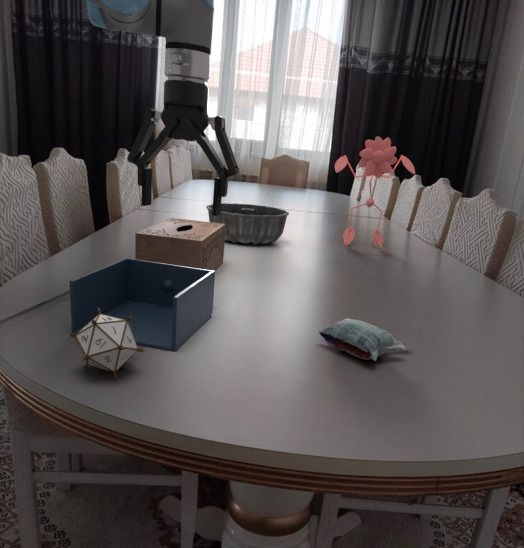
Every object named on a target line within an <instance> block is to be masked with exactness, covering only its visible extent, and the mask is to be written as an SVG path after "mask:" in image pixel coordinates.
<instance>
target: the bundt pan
mask: <svg viewBox="0 0 524 548" xmlns="http://www.w3.org/2000/svg"><path fill="white" fill-rule="evenodd" d="M205 207H206V210H207V212H208V222H212V223H221V224H226V227H225V241H226V242H232V243H233V244H236V243H241V244H245V245H246V244H247V245H248V244H250V243H251V244H252V245H253V246H254V245H255V246H256V245H258V244H259V245H260V244H261V245H265V244H273V243H275V242H277V241H278V240H279V239H280V238H281V236H282V235H283V234H284V230H285V227H286V222H287V218H288V216H289V214H290V212H289V211H287V210H286V209H281V208H279V207H278V208H277V207H273V206H266V205H259V204H258V205H257V204H251V203H237V202H236V203H235V202H234V203H224V202H221V213H220V215H218V216H212V208H213V203H211V204H209V205H206V206H205Z"/></svg>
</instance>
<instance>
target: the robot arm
mask: <svg viewBox="0 0 524 548" xmlns="http://www.w3.org/2000/svg"><path fill="white" fill-rule="evenodd" d="M214 5H215V0H86V7H87V16H88V20H89V22H90V23H91V24H92V25H93V26H94V27H97V28H101V29H106V30H109V31H110V32H115V31H117V32H118V31H119V32H126V33H132V34H141V35H148V36H154V37H156V38H157V37H158V38H164V39H165V44H164V45H165V47H164V49H165V50H164V53H165V54H164V76H165V77H166V78H167V79H166V80H165V81H164V82H163V109H162V111H158V110H156V109H154V108H148V107H147V108H146V109H145V113H144V120H143V124H142V125H141V128H140V130H139V131H138V133H137V136H136V138H135V140H134V143H133V144H132V147H131V149H130V151H129V153H128V155H127V162H128V163H131V164H132V165H135V166H136V168H137V179H136V180H137V181H136V182H137V185H138V186H139V187H141V206H142V207H148V206H151V205H152V198H153V197H152V195H153V193H152V192H153V168H152V167H150V164H152V162H153V161H154V160H155V159H156V158H157V156H158V155H159V154H160V153H161V151H163V149H164V148H165V147H166V145H168V143H169V142H171V141H172V140H177V141H186V142H196V143H197V145H199V147H200V148H201V150H202V151H203V153H204V155H205V157H206V158H207V159H208V161H209V162H210V164H211V165H212V167H213V169H214V170H215V172H216V173H217V175H218V176H217V177H214V178H213V179H214V181H213V195H212V204H213V208H212V216H218V215H220V213H221V203H222V199H223V198H226V197H227V196H228V187H229V179H230V178H231V177H233V176H238V175H239V174H240V168H239V166H238V165H239V164H238V162H237V160H236V157H235V155H234V152H233V149H232V146H231V143H230V140H229V137H228V134H227V132H226V119H225V117H224V116H220V115H216V116H210V117H209V114H208V110H209V94H210V93H209V92H210V90H209V89H210V88H209V86H208V85H207V83H208V82H210V78H211V77H210V76H211V75H210V74H211V57H212V56H211V55H212V43H213V29H214V28H213V26H214V15H215V7H214ZM160 120H161V122H162V124H163V125H164V127H163V129H162V130H161V131H160V132H159V134H158V136H157V137H156V138H155V139H154V140H153V142H152V143H151V145H149V147H148V148H147V149H146V147H147V145H148V143H149V142H150V139H151V136H152V135H153V132H154V131H155V128H156V126H157V124H159V122H160ZM209 125H210V127H211V129H212V130H213V131H214V133H215V137H216V140H217V141H218V145H219V148H220V151H221V153H222V156H223V159H224V162H225V164H224V162H223V161H222V159H221V157H220V156H219V155H218V153H217V151H216V149H215V148H214V147H213V145H212V143H211V141H210V139H209V137H208V135H207V134H206V133H205V131H206V129H207V128H208V126H209ZM145 149H146V151H145Z"/></svg>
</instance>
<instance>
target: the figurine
mask: <svg viewBox="0 0 524 548" xmlns="http://www.w3.org/2000/svg"><path fill="white" fill-rule="evenodd" d="M391 145H392V140H391V138H390V137H386V138H385V139H384V140H383V138H382V137H381V136H375V138H374V140H372V139H366V140H365V141H364V146H365V148H364V149H362V150H361V151H360V152H359V157H361V158H360V160H359V162H358V167H359V168H361V169H362V168H365V174H360V175H356V174H355V173H356V172H355V171H354V169H353V168H352V165H351V163H350V162H349V160H348V157H347V155H346V154H343V156H340V157H339V158H338V159H336V161H335V163H334V170H335V173H336V174H338V173H340V172H341V171H343V170H344V169H345V168H346V167H347V165H348V167H349V169H350V171H351V173H352V175H353V177H354V178H355V179H357V178H362V177H370V179H369V183H368V184H369V185H368V186H369V197H370V198H367V199H366V201H365V203H362V204H359V205H357V206H354V207H351V209H350V225H349V227H346V229H345V230H344V231H343V234H342V241H343V244H344V247H346V246H348V245H350V243H352V242H353V241H354V239H355V236H356V232H355V229H354V227H352V224H353V210H354V209H357V208H360V207H362V206H367V207H369V208H370V207H373V206H374V207H375V208H376V209H377V210H379V211H380V215H379V219H378V224H377V228H375V229H374V230H373V234H372V235H373V239H372V241H371V245H370V246H371V247H373V246H374V245H375V244H376V245H377V246H378V247H379V248H380V249H382V247H383V242H384V241H383V240H384V239H383V235H382V233H381V232H380V230H379V229H380V224H381V219H382V214H383V210H381V208H379V207H378V206H377V204H375V199H373V198H372V196H373V195H372V181H373V178H374V177H375V178H376V179H381V178H384V179H385V178H386V179H390V177H391V176H392V175H393V173H394V172H395V170H396V168H397V167H398V165H399V164H400V162H402V165H403V167H404V168H405V169H406V170H407V171H409V172H410V173H411V174H412V175H414V176H415V175H416V170H415V166H414V164H413V162H412V161H411V160H410V159H409V158H408V157H407V156H405V155H403V154H401V155H400V157H399V159H398V158H397V157H396V156H395V155H396V153H397V147H396V146H391ZM394 164H395V165H394ZM393 165H394V167H393V168H392V166H393ZM383 174H389V175H383ZM356 251H357V252H361V250H358V249H356ZM363 252H364V253H369V250H363ZM394 252H395V250H393V251H392V253H394ZM371 253H372V254H373V253H377V254H379V253H380V254H388V253H391V251H371Z"/></svg>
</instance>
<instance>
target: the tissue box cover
mask: <svg viewBox="0 0 524 548" xmlns="http://www.w3.org/2000/svg"><path fill="white" fill-rule="evenodd" d="M225 227H226V224H221V223H212V222H209V221H203V220H193V219H188V218H187V219H185V218H177V217H169V218H166V219H164V220H162V221H160V222H157V223H155V224H153V225H151V226H147V227H145V228H144V229H142V230H139V231H137V232H135V235H134V237H135V239H134V240H135V241H134V242H135V243H134V245H135V247H134V248H135V249H134V251H135V252H134V253H135V255H134V259H137V260H144V261H151V262H158V263H164V264H171V265H178V266H185V267H192V268H198V269H205V270H212V271H215V272H216V271H217V270H218V269H219V268H220V267H221V266H222V265H223V263H224V257H225V256H224V254H225V241H226V240H225Z"/></svg>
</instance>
